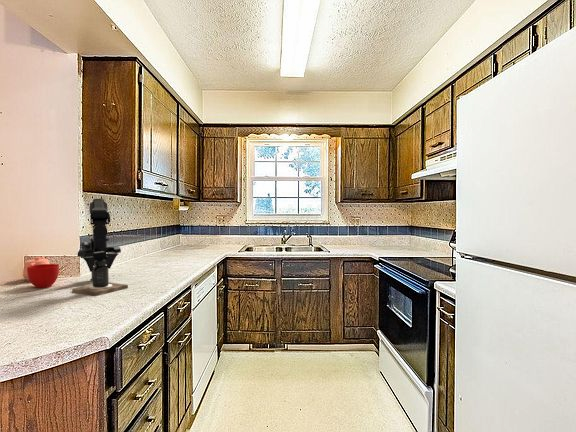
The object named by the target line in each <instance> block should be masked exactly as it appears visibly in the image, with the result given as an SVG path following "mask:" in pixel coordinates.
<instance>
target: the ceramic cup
mask: <svg viewBox="0 0 576 432" xmlns="http://www.w3.org/2000/svg"><path fill="white" fill-rule="evenodd" d="M59 271H60V265H59V264H57V263H50V264H41V265H33V266H29V267H27V273H28V278H29V280H30V281H29V282H30V283H31V285H33V286H34V287H35V288H36V289H43V288H44V289H45V288H50V287H52V286H53V284H55V282H56V281H57V280H58V277H59V273H60V272H59Z"/></svg>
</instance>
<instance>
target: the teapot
mask: <svg viewBox="0 0 576 432" xmlns="http://www.w3.org/2000/svg"><path fill="white" fill-rule="evenodd" d="M41 264H51V263H50V261H49V259H48V258H45V255H42V256H41V257H40V256H34V257H33V259H28V260H26V261H25V263H24V266H23V270H22V271H23V272H22V277H23V278H24V279H25V280H26V282H30V280H29V278H28V273H27V267H29V266H33V265H41Z"/></svg>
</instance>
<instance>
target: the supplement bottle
mask: <svg viewBox="0 0 576 432" xmlns="http://www.w3.org/2000/svg"><path fill="white" fill-rule="evenodd" d="M94 263H95V264H94V265H95V266H94V267H93V271H92V274H91V279H92V280H91V281H92V284H93V287H105V286H108V285H109V282H110V281H109V280H110V278H109V274H110V273H109V269H108V266H106V260H96V261H94Z"/></svg>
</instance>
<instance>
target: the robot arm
mask: <svg viewBox="0 0 576 432" xmlns="http://www.w3.org/2000/svg"><path fill="white" fill-rule="evenodd" d="M108 206H109V205H108V203H107V202H106V201H105V199H103V198H94V199H93V200H92V201H91V202H90V203H89V215H90V222H89V224H90V225H93V226H92V238H91V239H90V242H87V241H83V242H81V243H80V244H81V245H80V248H81V249H79V250H78V252H77V257H78V258H80V259H83V260H84V262H86V265H87V267H88V270H89V272H91V274H90V275H92V271H93V267H94V266H95V265H94V264H95V263H94V261H96V260H106V266H108V270H109V269H111V267H112V265H113V263H114V261H115V260H116V258H117V256H118V255H120V254H119V253H122V250H121V247H120V246H116V245H115V246H108V241H110V239H109V238H108V228H107V227H108V226H107V225H110V223H111V214H110V213H109V210H108ZM90 281H92V278H90Z"/></svg>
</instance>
